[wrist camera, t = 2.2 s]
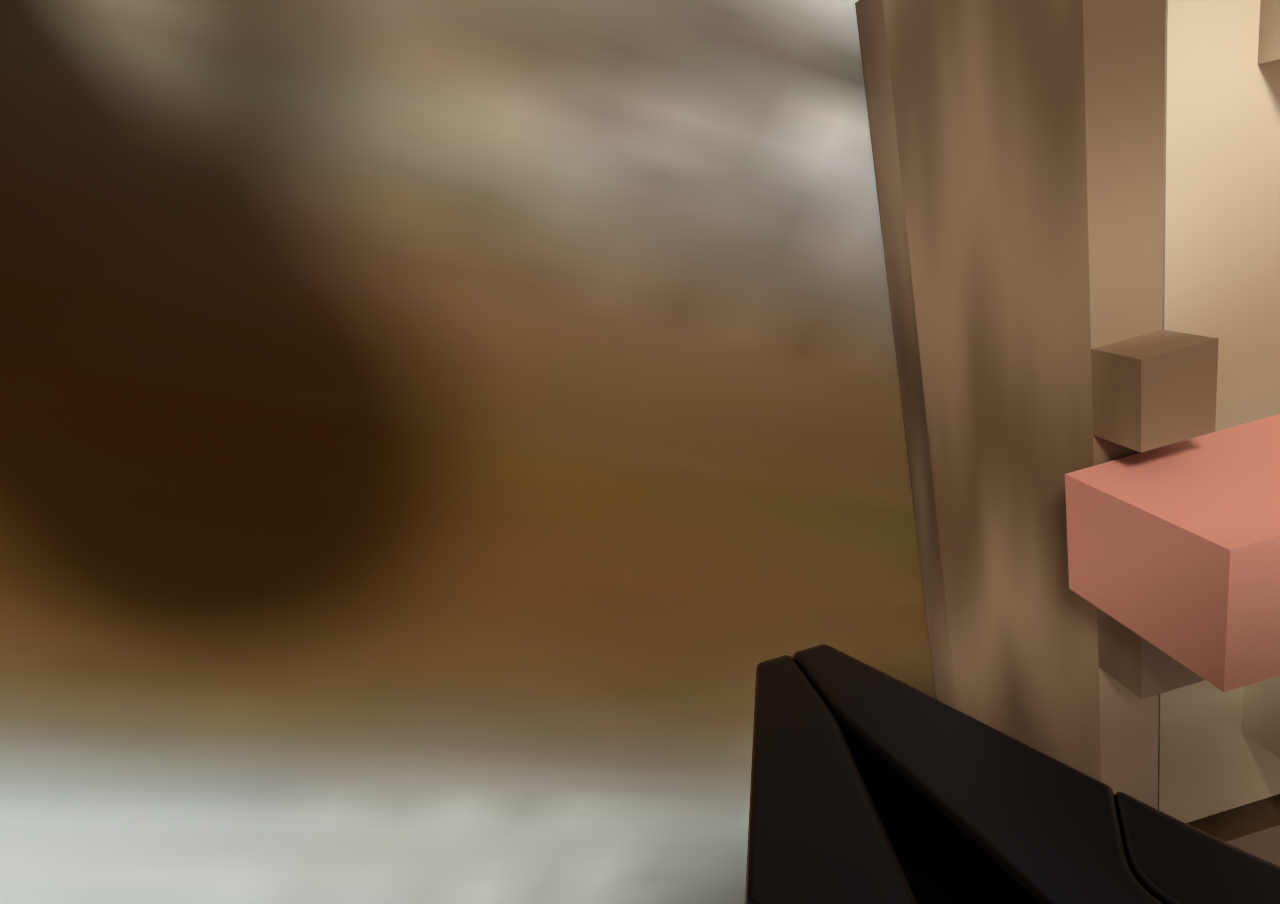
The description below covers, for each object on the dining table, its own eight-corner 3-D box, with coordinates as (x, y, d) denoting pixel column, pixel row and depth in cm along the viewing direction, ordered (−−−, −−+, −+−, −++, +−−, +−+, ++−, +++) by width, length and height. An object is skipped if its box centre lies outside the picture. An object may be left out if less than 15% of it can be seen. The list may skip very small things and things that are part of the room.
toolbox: (1301, 610, 18) (1672, 794, 12) (938, 717, 18) (1141, 965, 12) (1363, -118, 13) (2054, -412, 7) (855, 3, 12) (1140, -207, 7)
